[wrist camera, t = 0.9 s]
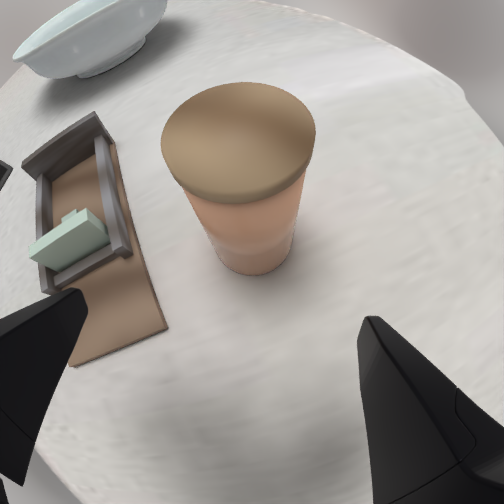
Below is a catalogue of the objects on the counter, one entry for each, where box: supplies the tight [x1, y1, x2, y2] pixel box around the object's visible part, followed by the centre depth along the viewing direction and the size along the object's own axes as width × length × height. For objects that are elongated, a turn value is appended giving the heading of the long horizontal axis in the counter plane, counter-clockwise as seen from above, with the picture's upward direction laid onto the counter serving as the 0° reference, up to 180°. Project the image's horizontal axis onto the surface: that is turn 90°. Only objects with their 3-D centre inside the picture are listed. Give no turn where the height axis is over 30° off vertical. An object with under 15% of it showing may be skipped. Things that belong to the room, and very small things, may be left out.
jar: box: [161, 82, 316, 276], centre depth 17 cm, size 7×7×13 cm
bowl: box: [13, 0, 167, 79], centre depth 31 cm, size 32×32×15 cm
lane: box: [21, 111, 168, 367], centre depth 22 cm, size 23×11×6 cm, turn 25°
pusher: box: [29, 208, 111, 273], centre depth 21 cm, size 4×7×5 cm, turn 115°
